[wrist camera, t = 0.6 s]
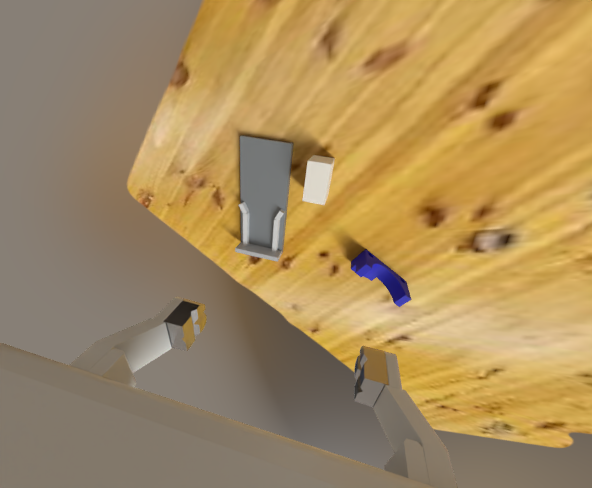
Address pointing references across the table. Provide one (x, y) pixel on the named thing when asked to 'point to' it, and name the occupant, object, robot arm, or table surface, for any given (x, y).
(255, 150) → the mounting plate
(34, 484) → the robot arm
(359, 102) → the table surface
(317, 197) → the panel block
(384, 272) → the cable clip
